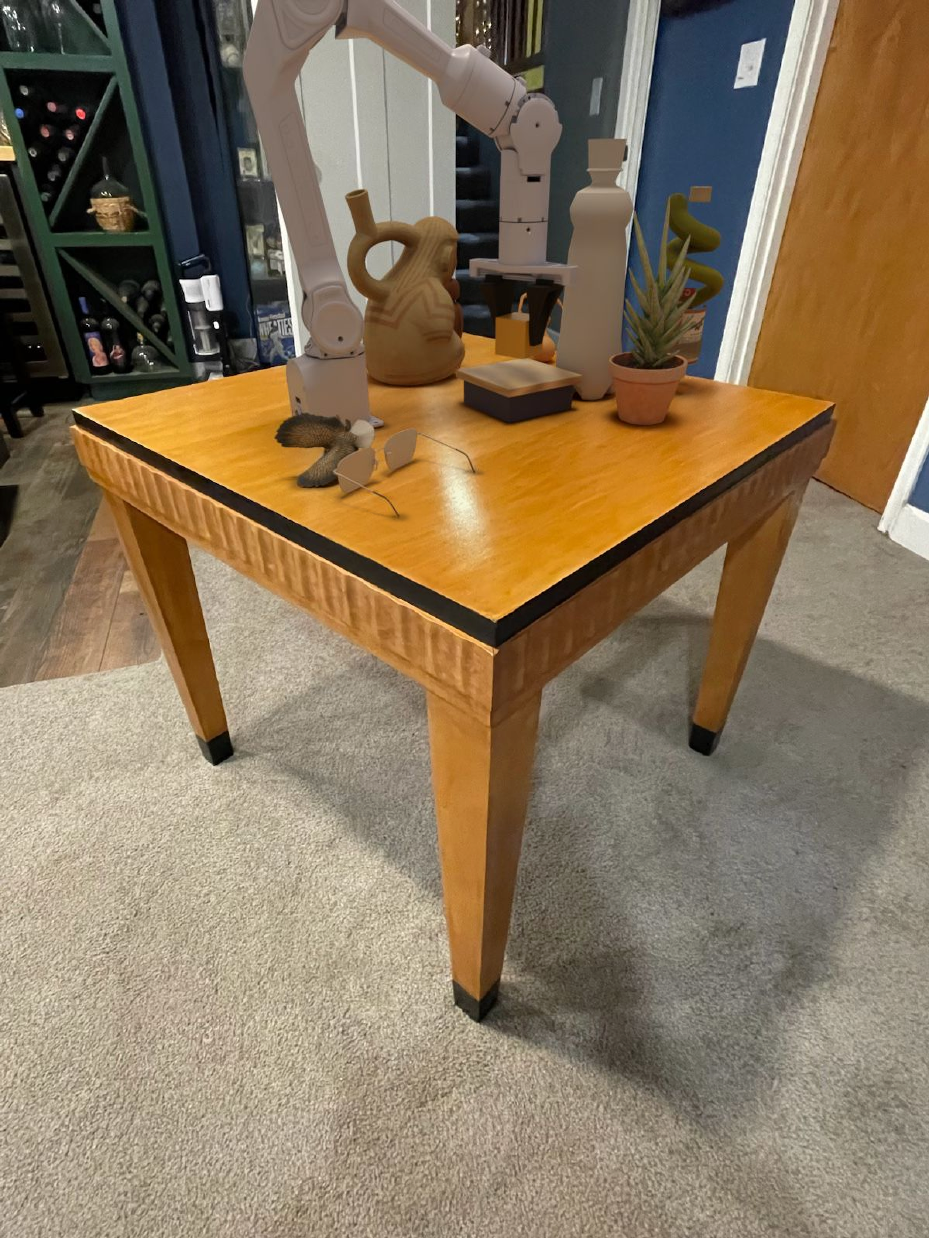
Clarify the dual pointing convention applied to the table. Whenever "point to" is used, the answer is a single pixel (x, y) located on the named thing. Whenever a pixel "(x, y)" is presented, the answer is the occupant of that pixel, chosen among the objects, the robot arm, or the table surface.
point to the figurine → (547, 341)
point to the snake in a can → (692, 267)
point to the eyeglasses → (362, 462)
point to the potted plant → (652, 340)
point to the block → (514, 336)
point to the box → (518, 388)
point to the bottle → (596, 273)
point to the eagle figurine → (324, 442)
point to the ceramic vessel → (406, 297)
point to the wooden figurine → (456, 305)
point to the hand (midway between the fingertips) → (519, 342)
